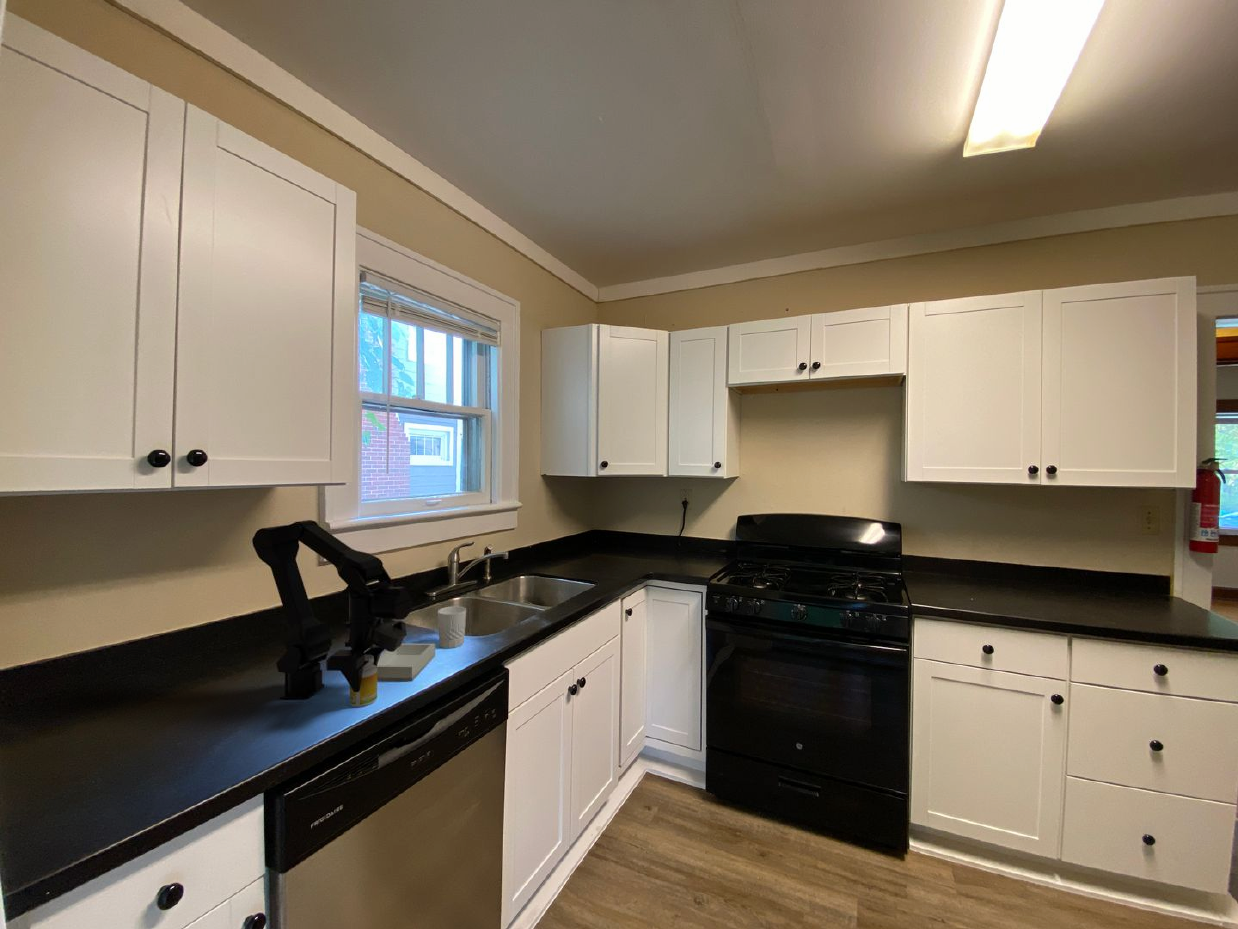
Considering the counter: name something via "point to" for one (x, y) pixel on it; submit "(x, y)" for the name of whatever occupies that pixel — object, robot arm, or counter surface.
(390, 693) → the counter surface
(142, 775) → the counter surface
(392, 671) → the box
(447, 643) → the white cup
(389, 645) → the robot arm
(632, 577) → the counter surface
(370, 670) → the supplement bottle
